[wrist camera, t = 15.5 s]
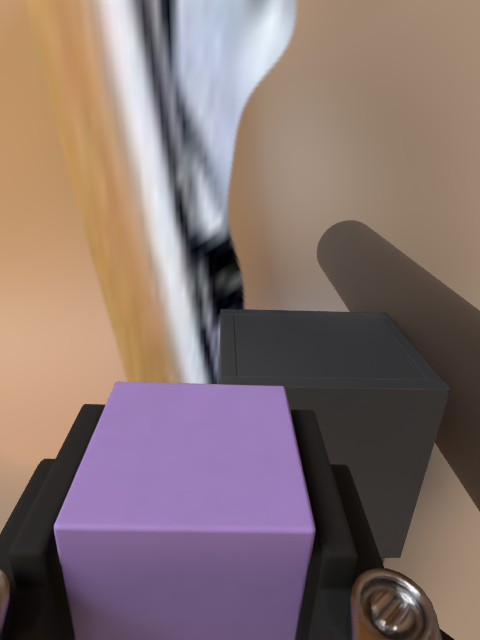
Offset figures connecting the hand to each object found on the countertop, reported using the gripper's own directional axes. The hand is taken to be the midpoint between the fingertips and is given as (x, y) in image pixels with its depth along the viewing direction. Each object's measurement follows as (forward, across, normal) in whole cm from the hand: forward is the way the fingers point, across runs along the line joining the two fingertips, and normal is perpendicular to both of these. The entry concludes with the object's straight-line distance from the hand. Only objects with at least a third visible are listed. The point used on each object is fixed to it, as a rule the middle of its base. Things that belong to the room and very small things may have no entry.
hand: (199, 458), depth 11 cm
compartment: (+17, -6, +9) cm, 20 cm away
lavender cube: (0, 0, 0) cm, 0 cm away
